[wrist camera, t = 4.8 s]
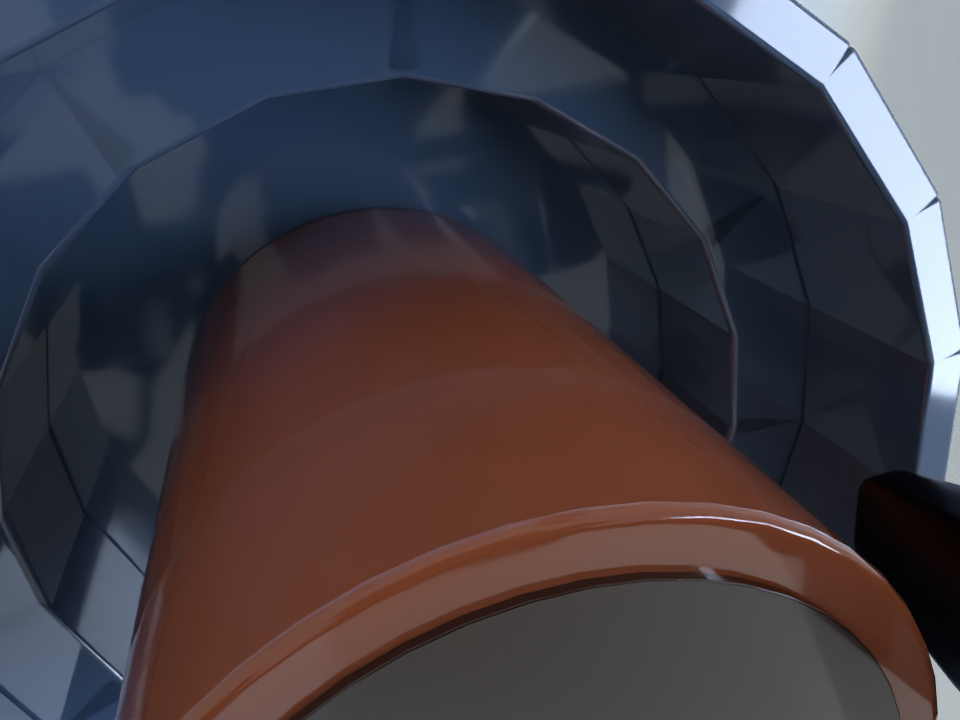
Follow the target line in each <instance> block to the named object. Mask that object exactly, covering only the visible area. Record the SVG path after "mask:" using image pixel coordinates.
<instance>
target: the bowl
mask: <svg viewBox="0 0 960 720" xmlns="http://www.w3.org/2000/svg"><path fill="white" fill-rule="evenodd" d="M375 208H379V209H408V210H415V211H422V212H429V213H433V214H436V215H440V216H443V217H447V218H450V219H454V220H456V221H458V222H461V223H463V224H465V225H468V226H470V227H472V228H474V229H477V230H478V231H480V232H482V233H483V234H485V235H486V236H488V237H490V238H491V239H493V240H495V241H496V242H498V243H499V244H500V245H501V246H503V247H504V248H505V249H506V250H507V251H509V252H510V253H511V254H512V255H513V256H515V257H516V258H517V259H518V260H519V261H520V262H522V263H523V264H524V265H525V266H526V267H527V268H529V269H530V270H531V271H532V272H533V273H534V274H536V275H537V276H538V277H539V278H540V279H541V280H542V281H544V282H545V283H546V284H547V285H548V286H549V287H551V288H552V289H553V290H554V291H555V292H556V293H558V294H559V295H560V296H561V297H562V298H563V299H565V300H566V301H567V302H568V303H569V304H570V305H571V306H573V307H574V308H575V309H576V310H577V311H578V312H580V313H581V314H582V315H583V316H584V317H585V318H587V319H588V320H589V321H590V322H591V323H592V324H594V325H595V326H596V327H597V328H598V329H599V330H600V331H602V332H603V333H604V334H605V335H606V336H607V337H609V338H610V339H611V340H612V341H613V342H614V343H616V344H617V345H618V346H619V347H620V348H621V349H622V350H624V351H625V352H626V353H627V354H628V355H629V356H631V357H632V358H633V359H634V360H635V361H636V362H638V363H639V364H640V365H641V366H642V367H643V368H645V369H646V370H647V371H648V372H649V373H650V374H651V375H653V376H654V377H655V378H656V379H657V380H658V381H660V382H661V383H662V384H663V385H664V386H665V387H667V388H668V389H669V390H670V391H671V392H672V393H674V394H675V395H676V396H677V397H678V398H679V399H680V400H682V401H683V402H684V403H685V404H686V405H687V406H689V407H690V408H691V409H692V410H693V411H694V412H696V413H697V414H698V415H699V416H700V417H701V418H703V419H704V420H705V421H706V422H707V423H708V424H709V425H711V426H712V427H713V428H714V429H715V430H716V431H718V432H719V433H720V434H721V435H722V436H723V437H725V438H726V439H727V440H728V441H729V442H730V443H731V444H733V445H734V446H735V447H736V448H737V449H738V450H740V451H741V452H742V453H743V454H744V455H745V456H747V457H748V458H749V459H750V460H751V461H752V462H754V463H755V464H756V465H757V466H758V467H759V468H760V469H762V470H763V471H764V472H765V473H766V474H767V475H769V476H770V477H771V478H772V479H773V480H774V481H776V482H777V483H778V484H779V485H780V486H781V487H783V488H784V489H785V490H786V491H787V492H788V493H789V494H791V495H792V496H793V497H794V498H795V499H796V500H798V501H799V502H800V503H801V504H802V505H803V506H805V507H806V508H807V509H808V510H809V511H810V512H811V513H813V514H814V515H815V516H816V517H817V518H818V519H820V520H821V521H822V522H823V523H824V524H825V525H827V526H828V527H829V528H830V529H831V530H832V531H834V532H835V533H836V534H837V535H838V536H839V537H840V538H842V539H843V540H844V541H845V542H846V543H847V544H849V545H850V546H851V547H852V548H853V549H854V550H855V546H854V528H855V518H856V507H857V496H858V489H859V486H860V485H861V483H862V481H863V480H865V479H866V478H868V477H871V476H875V475H878V474H882V473H885V472H888V471H892V470H904V471H909V472H912V473H916V474H920V475H923V476H927V477H931V478H935V479H938V480H942V481H945V479H946V472H947V465H948V459H949V452H950V446H951V439H952V432H953V426H954V419H955V413H956V406H957V399H958V393H959V386H960V318H959V312H958V305H957V299H956V293H955V287H954V281H953V275H952V269H951V263H950V257H949V250H948V244H947V238H946V232H945V226H944V220H943V214H942V208H941V202H940V200H939V198H937V191H936V189H935V187H934V186H933V184H932V182H931V180H930V179H929V177H928V175H927V173H926V172H925V170H924V168H923V166H922V165H921V163H920V161H919V159H918V158H917V156H916V154H915V153H914V151H913V149H912V147H911V146H910V144H909V142H908V140H907V139H906V137H905V135H904V133H903V132H902V130H901V128H900V126H899V125H898V123H897V121H896V120H895V118H894V116H893V114H892V113H891V111H890V109H889V107H888V106H887V104H886V102H885V100H884V99H883V97H882V95H881V93H880V92H879V90H878V88H877V87H876V85H875V83H874V81H873V80H872V78H871V76H870V74H869V73H868V71H867V69H866V67H865V66H864V64H863V62H862V60H861V59H860V57H859V55H858V54H857V52H856V50H855V49H854V48H852V47H851V46H850V44H849V42H848V41H847V40H846V39H845V38H843V37H842V36H841V35H839V34H838V33H837V32H836V31H834V30H833V29H832V28H830V27H829V26H828V25H827V24H825V23H824V22H823V21H821V20H820V19H819V18H818V17H816V16H815V15H814V14H812V13H811V12H810V11H809V10H807V9H806V8H805V7H803V6H802V5H801V4H800V3H798V2H797V1H796V0H0V720H115V715H116V710H117V705H118V700H119V695H120V690H121V685H122V680H123V675H124V671H125V666H126V661H127V656H128V651H129V646H130V641H131V636H132V631H133V626H134V621H135V617H136V612H137V607H138V602H139V597H140V592H141V587H142V582H143V577H144V572H145V568H146V563H147V558H148V553H149V548H150V543H151V538H152V533H153V528H154V523H155V518H156V514H157V509H158V504H159V499H160V494H161V489H162V484H163V479H164V474H165V469H166V465H167V460H168V455H169V450H170V445H171V440H172V435H173V430H174V425H175V420H176V415H177V411H178V406H179V401H180V396H181V391H182V386H183V381H184V376H185V371H186V367H187V362H188V358H189V353H190V348H191V345H192V343H193V340H194V337H195V335H196V332H197V330H198V327H199V324H200V322H201V320H202V319H203V317H204V315H205V313H206V312H207V310H208V308H209V306H210V304H211V303H212V301H213V299H214V298H215V297H216V295H217V294H218V293H219V291H220V290H221V289H222V288H223V286H224V285H225V284H226V282H227V281H228V280H229V279H230V278H231V277H232V276H233V275H234V274H235V273H236V272H237V271H238V270H239V269H240V268H241V267H242V266H243V265H244V264H245V263H246V262H247V261H248V260H249V259H250V258H251V257H253V256H254V255H255V254H257V253H258V252H259V251H261V250H262V249H263V248H265V247H266V246H267V245H269V244H270V243H272V242H273V241H275V240H277V239H279V238H280V237H282V236H284V235H286V234H288V233H289V232H291V231H293V230H295V229H297V228H299V227H302V226H304V225H307V224H309V223H312V222H314V221H317V220H319V219H322V218H326V217H330V216H334V215H338V214H342V213H346V212H351V211H359V210H367V209H375Z"/></svg>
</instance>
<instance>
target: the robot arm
mask: <svg viewBox="0 0 960 720" xmlns="http://www.w3.org/2000/svg"><path fill="white" fill-rule="evenodd" d="M854 546H855V550H856V551H857V552H858V553H859V554H860V555H861V556H863V557H864V558H865V559H866V560H867V561H868V562H869V563H871V564H872V565H873V566H874V567H875V568H876V569H878V570H879V571H880V572H881V573H882V574H883V575H884V576H885V578H886V579H887V580H888V581H889V583H890V584H891V585H892V586H893V588H894V589H895V590H896V591H897V593H898V594H899V595H900V596H901V597H902V599H903V600H904V601H905V602H906V604H907V606H908V608H909V610H910V612H911V614H912V616H913V618H914V620H915V622H916V624H917V626H918V628H919V630H920V632H921V634H922V636H923V638H924V640H925V643H926V645H927V649H928V652H929V654H930V655H931V656H932V658H933V659H934V660H935V662H936V663H937V664H938V666H939V667H940V668H941V669H942V671H943V672H944V673H945V674H946V676H947V677H948V678H949V680H950V681H951V682H952V683H953V684H954V686H955V687H956V688H957V689H958V690H959V691H960V485H957V484H953V483H949V482H946V481H942V480H938V479H935V478H931V477H927V476H923V475H920V474H916V473H912V472H909V471H904V470H892V471H888V472H885V473H882V474H878V475H875V476H871V477H868V478H866V479H865V480H863V481H862V483H861V485H860V486H859V489H858V496H857V507H856V518H855V528H854Z"/></svg>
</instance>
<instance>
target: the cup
mask: <svg viewBox="0 0 960 720" xmlns="http://www.w3.org/2000/svg"><path fill="white" fill-rule="evenodd" d="M937 714H938V710H937V696H936V682H935V675H934V671H933V668H932V664H931V660H930V657H929V653H928V649H927V645H926V643H925V640H924V638H923V636H922V634H921V632H920V630H919V628H918V626H917V624H916V622H915V620H914V618H913V616H912V614H911V612H910V610H909V608H908V606H907V604H906V602H905V601H904V600H903V599H902V597H901V596H900V595H899V594H898V593H897V591H896V590H895V589H894V588H893V586H892V585H891V584H890V583H889V581H888V580H887V579H886V578H885V576H884V575H883V574H882V573H881V572H880V571H879V570H878V569H876V568H875V567H874V566H873V565H872V564H871V563H869V562H868V561H867V560H866V559H865V558H864V557H863V556H861V555H860V554H859V553H858V552H857V551H856V550H854V549H853V548H852V547H851V546H850V545H849V544H847V543H846V542H845V541H844V540H843V539H842V538H840V537H839V536H838V535H837V534H836V533H835V532H834V531H832V530H831V529H830V528H829V527H828V526H827V525H825V524H824V523H823V522H822V521H821V520H820V519H818V518H817V517H816V516H815V515H814V514H813V513H811V512H810V511H809V510H808V509H807V508H806V507H805V506H803V505H802V504H801V503H800V502H799V501H798V500H796V499H795V498H794V497H793V496H792V495H791V494H789V493H788V492H787V491H786V490H785V489H784V488H783V487H781V486H780V485H779V484H778V483H777V482H776V481H774V480H773V479H772V478H771V477H770V476H769V475H767V474H766V473H765V472H764V471H763V470H762V469H760V468H759V467H758V466H757V465H756V464H755V463H754V462H752V461H751V460H750V459H749V458H748V457H747V456H745V455H744V454H743V453H742V452H741V451H740V450H738V449H737V448H736V447H735V446H734V445H733V444H731V443H730V442H729V441H728V440H727V439H726V438H725V437H723V436H722V435H721V434H720V433H719V432H718V431H716V430H715V429H714V428H713V427H712V426H711V425H709V424H708V423H707V422H706V421H705V420H704V419H703V418H701V417H700V416H699V415H698V414H697V413H696V412H694V411H693V410H692V409H691V408H690V407H689V406H687V405H686V404H685V403H684V402H683V401H682V400H680V399H679V398H678V397H677V396H676V395H675V394H674V393H672V392H671V391H670V390H669V389H668V388H667V387H665V386H664V385H663V384H662V383H661V382H660V381H658V380H657V379H656V378H655V377H654V376H653V375H651V374H650V373H649V372H648V371H647V370H646V369H645V368H643V367H642V366H641V365H640V364H639V363H638V362H636V361H635V360H634V359H633V358H632V357H631V356H629V355H628V354H627V353H626V352H625V351H624V350H622V349H621V348H620V347H619V346H618V345H617V344H616V343H614V342H613V341H612V340H611V339H610V338H609V337H607V336H606V335H605V334H604V333H603V332H602V331H600V330H599V329H598V328H597V327H596V326H595V325H594V324H592V323H591V322H590V321H589V320H588V319H587V318H585V317H584V316H583V315H582V314H581V313H580V312H578V311H577V310H576V309H575V308H574V307H573V306H571V305H570V304H569V303H568V302H567V301H566V300H565V299H563V298H562V297H561V296H560V295H559V294H558V293H556V292H555V291H554V290H553V289H552V288H551V287H549V286H548V285H547V284H546V283H545V282H544V281H542V280H541V279H540V278H539V277H538V276H537V275H536V274H534V273H533V272H532V271H531V270H530V269H529V268H527V267H526V266H525V265H524V264H523V263H522V262H520V261H519V260H518V259H517V258H516V257H515V256H513V255H512V254H511V253H510V252H509V251H507V250H506V249H505V248H504V247H503V246H501V245H500V244H499V243H498V242H496V241H495V240H493V239H491V238H490V237H488V236H486V235H485V234H483V233H482V232H480V231H478V230H477V229H474V228H472V227H470V226H468V225H465V224H463V223H461V222H458V221H456V220H454V219H450V218H447V217H443V216H440V215H436V214H433V213H429V212H422V211H415V210H408V209H379V208H375V209H367V210H359V211H351V212H346V213H342V214H338V215H334V216H330V217H326V218H322V219H319V220H317V221H314V222H312V223H309V224H307V225H304V226H302V227H299V228H297V229H295V230H293V231H291V232H289V233H288V234H286V235H284V236H282V237H280V238H279V239H277V240H275V241H273V242H272V243H270V244H269V245H267V246H266V247H265V248H263V249H262V250H261V251H259V252H258V253H257V254H255V255H254V256H253V257H251V258H250V259H249V260H248V261H247V262H246V263H245V264H244V265H243V266H242V267H241V268H240V269H239V270H238V271H237V272H236V273H235V274H234V275H233V276H232V277H231V278H230V279H229V280H228V281H227V282H226V284H225V285H224V286H223V288H222V289H221V290H220V291H219V293H218V294H217V295H216V297H215V298H214V299H213V301H212V303H211V304H210V306H209V308H208V310H207V312H206V313H205V315H204V317H203V319H202V320H201V322H200V324H199V327H198V330H197V332H196V335H195V337H194V340H193V343H192V345H191V348H190V353H189V358H188V362H187V367H186V371H185V376H184V381H183V386H182V391H181V396H180V401H179V406H178V411H177V415H176V420H175V425H174V430H173V435H172V440H171V445H170V450H169V455H168V460H167V465H166V469H165V474H164V479H163V484H162V489H161V494H160V499H159V504H158V509H157V514H156V518H155V523H154V528H153V533H152V538H151V543H150V548H149V553H148V558H147V563H146V568H145V572H144V577H143V582H142V587H141V592H140V597H139V602H138V607H137V612H136V617H135V621H134V626H133V631H132V636H131V641H130V646H129V651H128V656H127V661H126V666H125V671H124V675H123V680H122V685H121V690H120V695H119V700H118V705H117V710H116V715H115V720H937Z"/></svg>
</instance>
